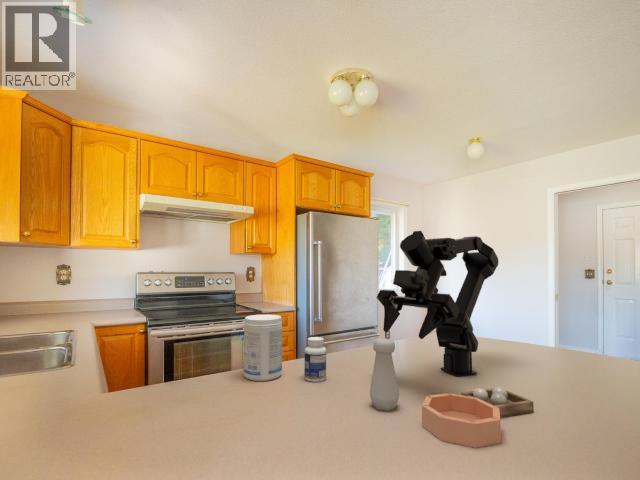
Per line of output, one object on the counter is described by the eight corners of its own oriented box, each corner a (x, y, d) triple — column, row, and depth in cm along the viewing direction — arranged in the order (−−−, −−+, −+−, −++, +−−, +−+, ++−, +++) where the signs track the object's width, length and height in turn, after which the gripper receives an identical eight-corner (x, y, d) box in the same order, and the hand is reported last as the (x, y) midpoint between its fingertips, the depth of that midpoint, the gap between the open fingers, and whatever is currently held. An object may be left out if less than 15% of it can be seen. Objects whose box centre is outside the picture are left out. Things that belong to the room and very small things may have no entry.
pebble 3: (498, 404, 67) (498, 389, 67) (510, 410, 64) (510, 394, 64) (487, 406, 66) (487, 391, 66) (499, 411, 63) (498, 396, 63)
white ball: (499, 397, 70) (499, 384, 70) (511, 403, 67) (510, 388, 68) (489, 399, 69) (488, 385, 69) (500, 404, 67) (499, 390, 67)
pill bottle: (303, 375, 85) (304, 336, 86) (324, 375, 86) (325, 336, 87) (304, 382, 80) (305, 340, 81) (327, 382, 81) (327, 340, 81)
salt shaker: (397, 401, 69) (397, 336, 70) (401, 413, 63) (401, 342, 65) (368, 400, 70) (368, 336, 71) (370, 411, 64) (370, 341, 65)
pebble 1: (480, 399, 69) (480, 385, 69) (491, 404, 67) (491, 389, 67) (469, 400, 68) (469, 386, 69) (480, 406, 66) (480, 391, 66)
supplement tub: (277, 368, 91) (278, 313, 92) (286, 379, 82) (287, 318, 83) (240, 372, 88) (242, 314, 89) (245, 384, 79) (247, 320, 80)
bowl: (463, 409, 65) (463, 391, 66) (518, 439, 54) (517, 416, 54) (410, 417, 62) (410, 398, 62) (456, 451, 50) (456, 427, 51)
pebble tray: (499, 397, 72) (499, 387, 72) (533, 412, 64) (533, 401, 65) (461, 402, 69) (461, 392, 69) (492, 419, 61) (492, 408, 61)
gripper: (378, 257, 85) (351, 308, 77) (448, 256, 71) (423, 318, 63) (399, 285, 90) (375, 335, 82) (468, 288, 76) (447, 350, 68)
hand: (401, 334), depth 74 cm, fingers open, 9 cm apart
